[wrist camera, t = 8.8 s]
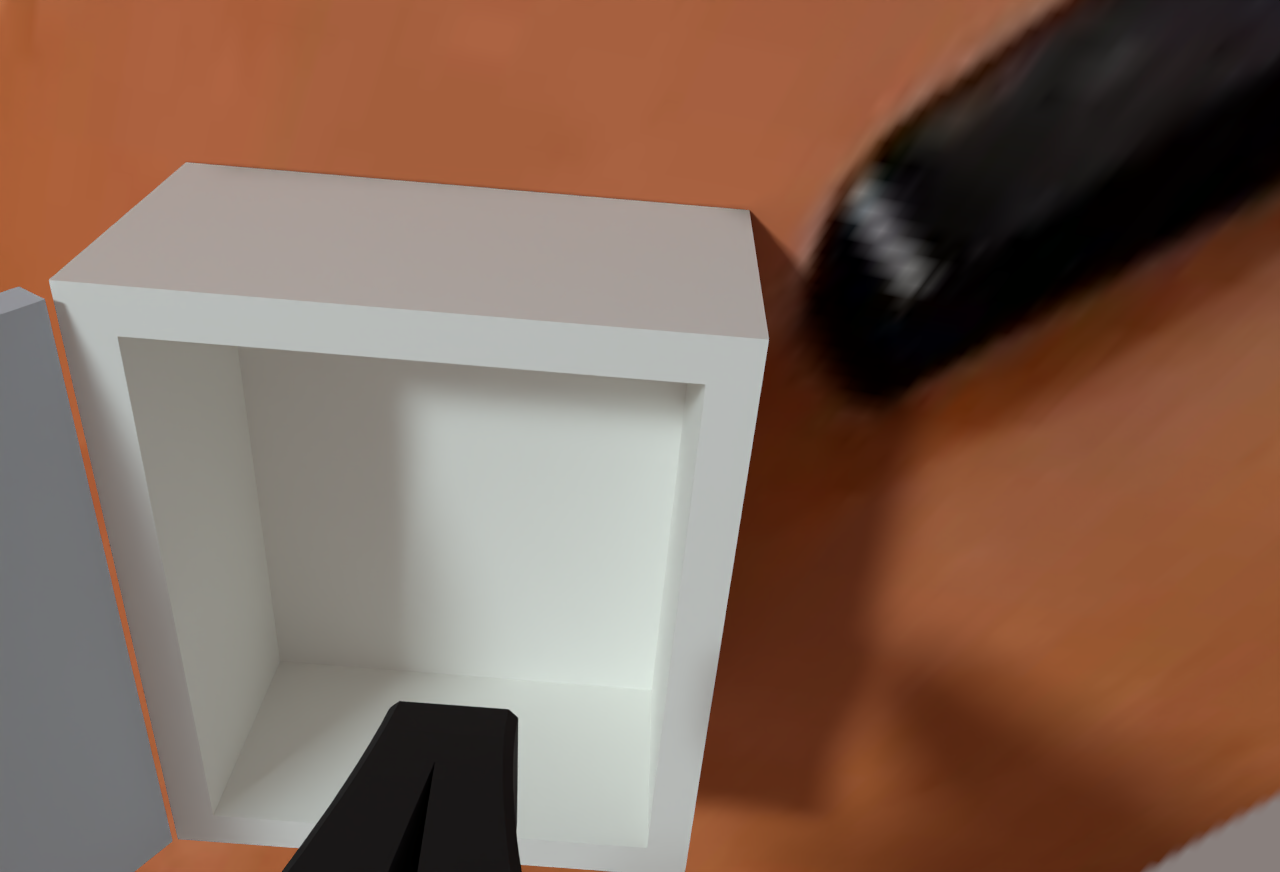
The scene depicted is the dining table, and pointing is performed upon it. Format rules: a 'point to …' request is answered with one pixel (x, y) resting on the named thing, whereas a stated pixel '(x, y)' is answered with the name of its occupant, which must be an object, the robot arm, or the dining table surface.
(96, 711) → the carton flap
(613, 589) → the carton
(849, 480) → the dining table surface
